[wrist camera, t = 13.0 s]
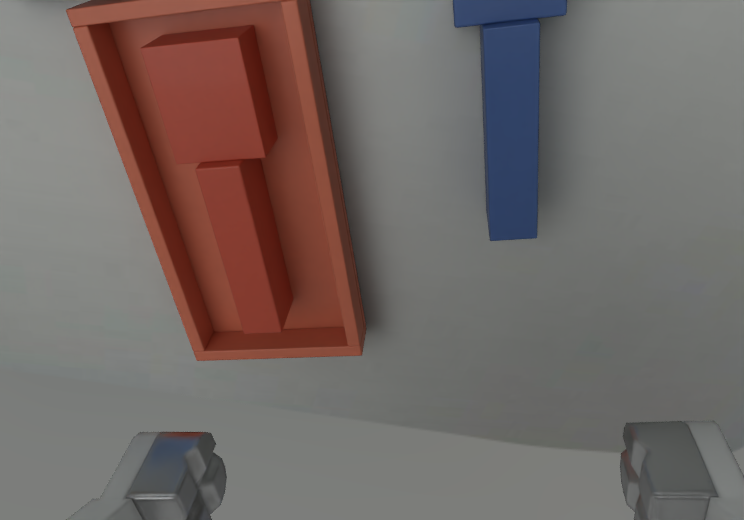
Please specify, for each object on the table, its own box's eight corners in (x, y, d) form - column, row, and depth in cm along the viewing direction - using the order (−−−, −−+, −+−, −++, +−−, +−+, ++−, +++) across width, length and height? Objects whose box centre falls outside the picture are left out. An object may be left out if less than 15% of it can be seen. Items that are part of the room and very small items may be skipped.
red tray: (366, 328, 30) (362, 356, 28) (209, 335, 31) (196, 361, 30) (304, -29, 22) (293, -21, 20) (92, -1, 23) (64, 9, 21)
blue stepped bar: (551, 206, 26) (561, 237, 23) (465, 212, 26) (466, 242, 24) (561, -146, 19) (575, -148, 17) (445, -128, 20) (445, -127, 18)
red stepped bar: (312, 298, 29) (302, 332, 27) (239, 301, 29) (223, 335, 27) (254, 24, 22) (234, 40, 20) (161, 34, 23) (133, 51, 21)
